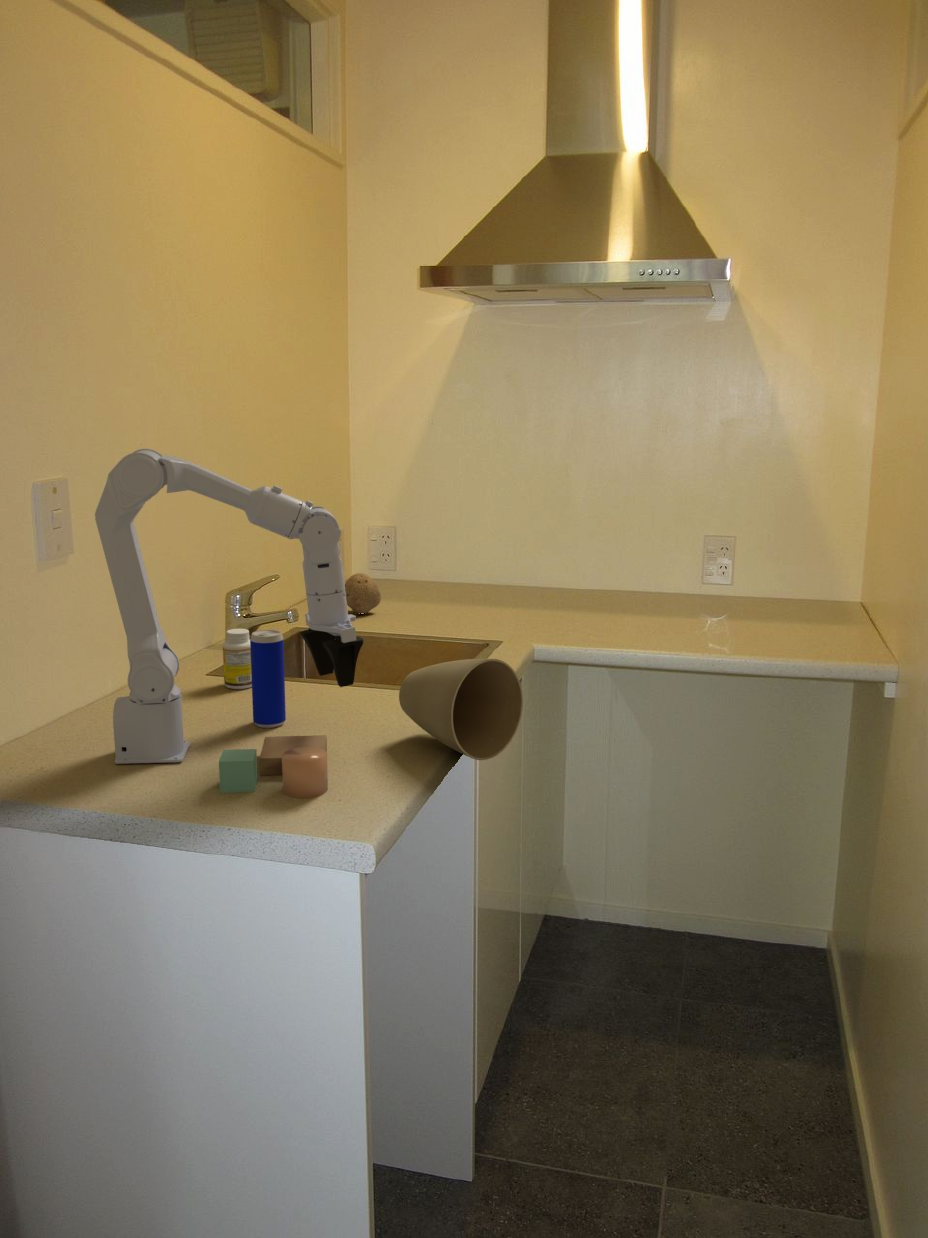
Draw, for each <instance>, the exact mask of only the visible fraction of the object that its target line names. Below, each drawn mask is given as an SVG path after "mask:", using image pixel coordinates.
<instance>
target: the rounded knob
mask: <svg viewBox="0 0 928 1238" xmlns="http://www.w3.org/2000/svg"><path fill="white" fill-rule="evenodd" d="M328 770H329V769H328V751H327V752H326V751H325V750H323V749H320V748H315V747H300V748H294V749H290V750H287V751H285V752H284V753H283V754H282V775H281V776H282V793H283V794H284V795H286V796H288V797H290V798H295V799H310V798H311V799H312V798H316V797H321V796H322V795H324V794H326V793H327V791H328V789H329V787H328V786H329V780H328V779H329V778H328V777H329V776H328V774H329V773H328Z"/></svg>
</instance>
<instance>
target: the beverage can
mask: <svg viewBox="0 0 928 1238" xmlns="http://www.w3.org/2000/svg"><path fill="white" fill-rule="evenodd" d="M249 639H250V648H251V675H252V687H251V695H252V721H253V723H254V725H256V726H257V727H258V728H265V729H270V728H272V729H273V728H278V727H281V726H283V725H284V723H285V721H286V720H287V719H286V718H287V716H286V683H285V681H286V680H285V650H284V648H285V647H284V646H285V645H284V636H283V634H282V632H281V630H276V629H261V630H259V629H258V630H256V631H253V632H252V633H251V636H250V637H249Z"/></svg>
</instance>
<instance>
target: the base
mask: <svg viewBox="0 0 928 1238" xmlns="http://www.w3.org/2000/svg"><path fill="white" fill-rule="evenodd" d="M327 737H328V735H325V734H319V735H318V734H317V735H289V736H288V735H284V736H283V735H282V736H281V735H279V736H265V737H264V739H263V744H262V749H261V751H260V755H259V776H280V775H281V776H282V754H283V753H284V752H285V751H287V750H290V749H294V748H300V747H315V748H320V749H323V750H325V751H326V752H327V753H328V738H327Z"/></svg>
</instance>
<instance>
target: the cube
mask: <svg viewBox="0 0 928 1238" xmlns="http://www.w3.org/2000/svg"><path fill="white" fill-rule="evenodd" d="M257 754H258V753H257V748H244V749H242V748H240V749H239V748H237V749H235V748H234V749H222V752H221V755H220V757H219V761H218V771H219V772H218V773H219V793H220V794H223V793H224V794H225V793H228V794H230V793H254V792H256V786H257V783H258V778H259V777H258V757H257Z"/></svg>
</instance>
